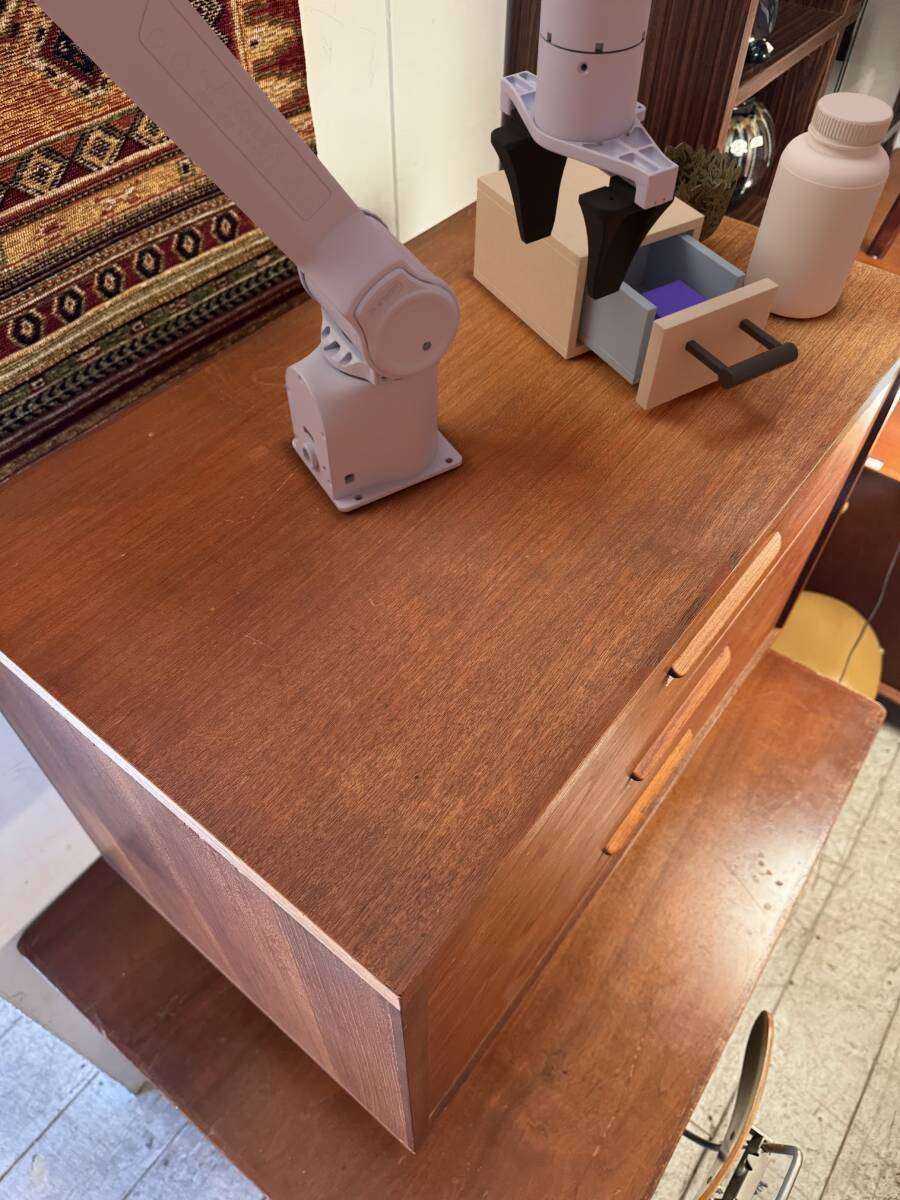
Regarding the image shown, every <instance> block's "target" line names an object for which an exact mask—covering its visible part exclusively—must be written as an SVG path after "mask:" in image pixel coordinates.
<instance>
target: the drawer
mask: <svg viewBox="0 0 900 1200" xmlns="http://www.w3.org/2000/svg"><path fill="white" fill-rule="evenodd" d="M745 276H746V272H744V271H743V270H741V269H740V268H738V267H737V266H735V265H733V264H732V263H731V262H729V261H728V260H726V259H725V258H723V257H722V256H720V255H719V254H717V253H716V252H715V251H713V250H712V249H711V248H709V247H707V246H706V245H705V244H703V243H702V242H701V243H700V242H698V241H697V240H696V239H694V238H693V237H691V236H690V235H688V234H687V233H685V232H683V233H680V234H677V235H674V236H671V237H668V238H665V239H662V240H659V241H656V242H653V243H650V244H647V245H645V246H642V247H639V248H638V250H637V252H636V254H635V256H634V258H633V260H632V262H631V264H630V266H629V269H628V271H627V273H626V275H625V278H624V280H623V282H622V285H621V287H620V289H619V291H618V292H615V293H613V294H610V295H607V296H605V297H602V298H600V299H597V300H594V299H593V298H592V297H590V296H589V295H588V290H587V273H586V279H585V286H584V293H583V299H582V306H581V313H580V319H579V326H578V333H577V338H578V339H580V340H581V341H582V342H583V343H584V344H585V345H586V346H588V347H589V348H590V349H591V350H590V351H593V353H594V354H595V355H597V356H598V357H599V358H600V359H601V360H603V361H604V362H605V363H606V364H607V365H608V366H609V367H610V368H612V370H614V371H615V372H617V374H619V375H620V376H621V377H622V378H624V379H625V380H626V382H628V384H630V385H631V386H634V385H636V384H638V383H639V384H638V389H637V391H636V392H637V393H636V397H635V403H636V404H637V405H638V406H640V407H641V408H642V409H643V410H644V411H648V410H650V409H653V408H655V407H657V406H660V405H663V404H665V403H667V402H669V401H672V400H674V399H676V398H679V397H681V396H684V395H686V394H688V393H691V392H693V391H695V390H698V389H700V388H703V387H705V386H707V385H709V384H712V383H714V382H717V381H718V384H719V385H720V387H721V388H722V389H724V390H726V391H728V390H732V389H734V388H737V387H738V386H741V385H743V384H745V383H747V382H750V381H752V380H754V379H757V378H760V377H761V376H764V375H766V374H768V373H771V372H773V371H776V370H778V369H780V368H782V367H786V366H787V365H790V364H792V363H794V362H795V361H796V360H798V357H799V348H798V346H797V345H796V344H795V343H793V342H791V341H787V342H785V343H781V342H780V341H778V340H777V339H776V338H775V337H773V336H771V334H769V333H767V332H766V331H765V328H766V325H767V322H768V320H769V317H770V313H771V312H770V311H771V308H772V305H773V302H774V299H775V296H776V293H777V291H778V288H779V285H777V284H776V283H774V282H773V281H772V280H770V279H769V278H765V279H763V280H760V281H757V282H755V283H752V284H749V285H747V286H744V279H745ZM678 280H680V281H682V282H683V283H684V284H686V285H687V286H689V287H690V288H691V289H693V290H694V291H695V292H697V293H698V294H700V295H701V296H702V297H704V298H705V299H706V300H707V301H705V302H702V303H699V304H697V305H694V306H691V307H689V308H686V309H683V310H681V311H678V312H676V313H673V314H670V315H668V316H665V317H662V318H660V319H657V320H654V318H655V314H656V310H657V307H656V306H655V305H653V304H652V303H651V302H650V301H648V300H647V299H646V298H644V297H643V296H642V295H641V294H642V293H645V292H648V291H651V290H653V289H656V288H659V287H662V286H664V285H667V284H670V283H673V282H675V281H678ZM760 345H761V346H763V347H764V348H765V349H767V350H765V351H762V352H761V353H758V354H757V351H758V349H759V346H760Z"/></svg>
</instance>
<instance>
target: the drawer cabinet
mask: <svg viewBox="0 0 900 1200" xmlns="http://www.w3.org/2000/svg"><path fill="white" fill-rule="evenodd" d="M476 178H477V179H476V207H475V209H476V211H475V231H474V233H475V234H474V259H473V261H474V262H473V278H474V279H476V280H477V281H478V282H479V283H480V284H481V285H482V286H483V287H485V288H486V290H488V291H489V292H490V293H491V294H492V295H493V296H494V297H496V298H497V300H499V301H500V302H501V303H502V304H503V305H504V306H505V307H506V308H508V309H509V310H510V311H511V312H513V314H515V315H516V316H517V317H518V318H519V319H520V320H521V321H522V322H523V323H525V324H526V325H527V326H528V327H529V328H530V329H531V330H532V331H534V332H535V333H536V334H537V335H538V336H539V337H540V338H541V339H542V340H543V341H545V342H546V344H547V345H549V346H550V347H551V348H552V349H554V350H555V351H556V352H557V353H558V354H559V355H560V356H561V357H562V358H563V359H564V360H566V361H567V360H569V359H572V358H574V357H577V356H580V355H583V354H585V353H588V352H591V351H592V350H591V349H590V348H589V347H588V346H586V345H585V344H584V343H583V342H582V341H581V340H580V339H578V338H577V333H578V326H579V319H580V313H581V306H582V299H583V293H584V286H585V279H586V273H587V263H588V240H587V232H586V226H585V221H584V217H583V214H582V211H581V207H580V205H579V202H578V199H579V195H580V194H583V193H586V192H589V191H592V190H595V189H598V188H600V187H603V186H607V187H608V186H609V181H610V176H609V175H607V174H606V173H604V172H603V171H601V170H600V169H598V168H597V167H594V166H591V165H589V164H586V163H583V162H580V161H577V160H574V159H571V158H569V157H568V158H567V161H566V165H565V168H564V172H563V176H562V180H561V184H560V190H559V197H558V204H557V211H556V217H555V222H554V226H553V229H552V233H551V236H549V237H546V238H543V239H540V240H537V241H534V242H532V243H529V244H525V243H524V242H523V241H522V240H521V237H520V233H519V229H518V224H517V218H516V213H515V208H514V203H513V199H512V194H511V190H510V187H509V183H508V180H507V177H506V174H505V171H504V169H501V170H497V171H495V172H490V173H487V174H484V175H479V176H477V177H476ZM704 217H705V216H704V215H702V214H701V213H699V212H698V211H696V210H695V209H693V208H692V207H690V206H689V205H687V204H686V203H684V202H683V201H681V200H680V199H678V198H677V197H675V198H674V201H673V203H672V204H671V205H670V206H669V207H668V208H667V209H666V210H665V212H664V213H663V214H662V215H661V216H660V218H659V219H658V220H657V221H656V223H655V224H654V225H653V227H652V228H651V229H650V231H649V232H648V234H647V235H646V237H645V238H644V240H643V242H642V243H641V245H640V247H642V246H645V245H647V244H650V243H653V242H656V241H659V240H662V239H665V238H668V237H671V236H674V235H677V234H680V233H683V232H685V233H687V234H688V235H690V236H691V237H693V238H694V239H696V240H697V241H699V237H700V233H701V229H702V225H703V221H704Z"/></svg>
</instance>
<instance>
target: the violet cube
mask: <svg viewBox="0 0 900 1200" xmlns="http://www.w3.org/2000/svg"><path fill="white" fill-rule="evenodd" d="M641 295H642V296H643V297H644V298H646V299H647V300H648V301H650V302H651V303H652V304H653V305H655V306H656V307H657V310H656V314H655V318H654V320H657V319H660V318H662V317H665V316H668V315H670V314H673V313H676V312H678V311H681V310H683V309H686V308H689V307H691V306H694V305H697V304H699V303H702V302H705V301H707V300H706V299H705V298H704V297H702V296H701V295H700V294H698V293H697V292H695V291H694V290H693V289H691V288H690V287H689V286H687V285H686V284H684V283H683V282H682V281H680V280H678V281H675V282H673V283H670V284H667V285H664V286H662V287H659V288H656V289H653V290H651V291H648V292H645V293H642V294H641Z"/></svg>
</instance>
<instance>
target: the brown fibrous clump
mask: <svg viewBox="0 0 900 1200" xmlns="http://www.w3.org/2000/svg"><path fill="white" fill-rule="evenodd" d="M663 154H664V155H665V156H666V157H667V158H668V159H670V160H671V161H672V162H674V163H675V164H677V165H678V166H679V168H678V173H677V178H676V183H675V188H676V193H675V197H677V198H678V199H680V200H681V201H683V202H684V203H686V204H687V205H689V206H690V207H692V208H693V209H695V210H696V211H698V212H699V213H701V214H702V215H704V216H705V217H704V221H703V225H702V229H701V233H700V237H699V241H698V242H700V243H701V244H702V243H703V242H704V241H705V242H706V240H708V239H709V238H710V237H711V236H712V235H713V234H715V232H716V231H717V230H718V228H719V226H720V224H721V223H722V221H723V219H724V217H725V214H726V212H727V209H728V207H729V205H730V202H731V200H732V197H733V194H734V192H735V189H736V187H737V184H738V182H739V179H740V176H741V175H742V172H743V165H741V164H740V165H739V166H738V157H734V158H733V159H732V160H731V161H730V154H729V152H728V151H725V152H721V151H720V148H719V147H715V148H714V149H713V150H711V152H709V153H708V154H706V149H705V146H704V144H703V143H702V144H700V145H699V147H698V148H697V150H695V149H694V148H693V147H692V146H691V145H689V144H688V143H687V142H686V141H682V142H681V143H679V144H678V145H677V146H675V147H674V146H672V145H669V144H668V145H666V147H665V148H664V152H663Z"/></svg>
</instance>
